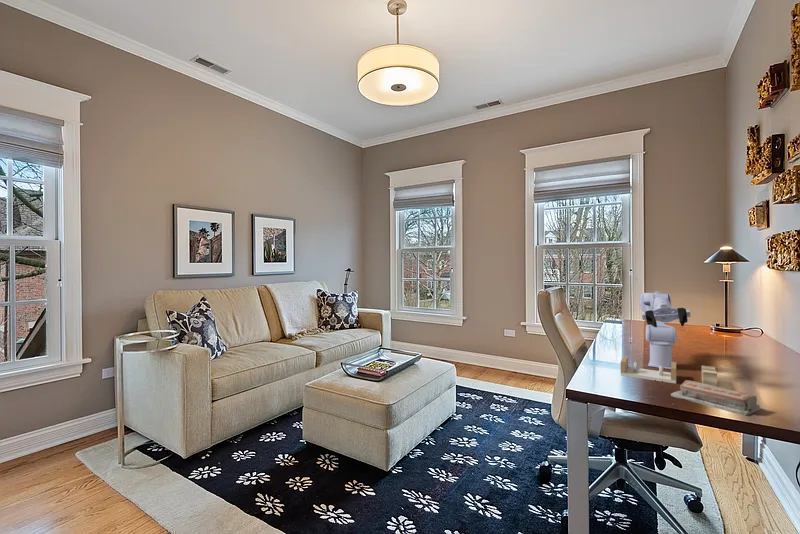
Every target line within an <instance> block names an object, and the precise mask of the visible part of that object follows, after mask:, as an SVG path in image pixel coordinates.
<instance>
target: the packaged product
mask: <svg viewBox="0 0 800 534" xmlns="http://www.w3.org/2000/svg"><path fill="white" fill-rule="evenodd" d="M679 389H680V390H677V391H674V392H671V393H670V396H671V397H674V398H676V399H681V400H686V401H689V402H691V403H692V402H693V403H697V404H700V405H704V406H706V407H711V408H715V409H720V410H721V411H727V412H731V413H733V414H737V415H742V416H749V415H751V414H753V413H756V412H758V411H760V410H761V406H760V404H757V401H758V399H757V398H758V397H757V395H754V394H751V393H746V392H741V391H737V390H734V389H729V388H725V387H721V386H718V385H717V386H712V385H708V384H703V383H702V382H699V381H695V380H689V379H688V380H687V379H686V380H684V381H683V382H682V383H681V384H680V386H679Z"/></svg>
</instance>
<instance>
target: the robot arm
mask: <svg viewBox="0 0 800 534" xmlns="http://www.w3.org/2000/svg"><path fill="white" fill-rule="evenodd" d="M639 305H640V310H641V311H642V313H641V318H642V320H643V321H646V326H645V340H646V342H649V361H648V364H647V366H648V367H652V368H658V369H659V365H662V366H663V369H666V370H667V369H668V370H671V362H673V356H672V355H673V346H674V345H675V343H677V341H678V340H677V339H678V336H677V334H678V333H677V329H676V328H675V327H674V326H671V325H669V324H666V323H670V322H673V321H676V320H678V321H679V324H680V325H681V327H684V326H685V323H688V318H691V310H690V309H687V308H684V307H677V308H676V307H673V306H672V297H671V295H670V293H662V292H661V291H660V290H655V292H643V293H642V292H641V294H640V295H639Z"/></svg>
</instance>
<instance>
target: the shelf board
mask: <svg viewBox="0 0 800 534" xmlns="http://www.w3.org/2000/svg"><path fill="white" fill-rule="evenodd" d="M701 383H703V384H708V385H712V386H717V387H718V372H717V370H716V367H715V366H712V365H701Z"/></svg>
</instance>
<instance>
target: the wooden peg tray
mask: <svg viewBox="0 0 800 534" xmlns="http://www.w3.org/2000/svg"><path fill="white" fill-rule="evenodd" d="M621 375H622V377H629V378H635V379H643V380H649V381H655V380H656V381H657V382H662V381H663V383H670V384H677V362H676V361H672V362H671V369H670V371H664V368H663V366H662V365H659V368H658V370H653V369H646V368H640V367H639V362H638V361H637V362H636V361H634V363H633V366H629V356H628V355H624V356H623V357H622V359H621V360H620V376H621Z"/></svg>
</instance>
